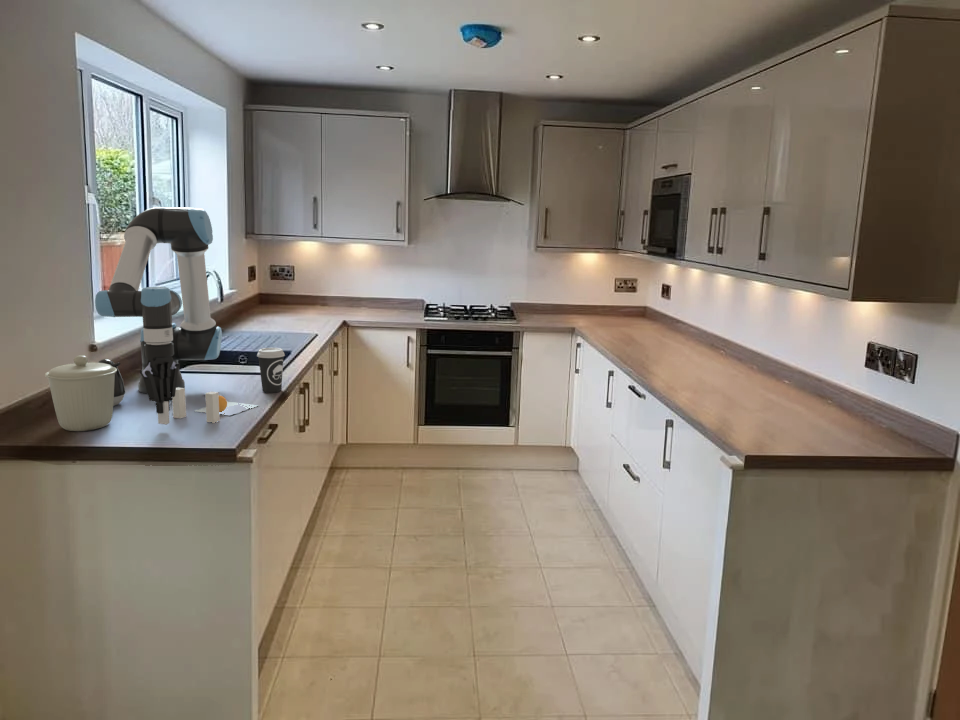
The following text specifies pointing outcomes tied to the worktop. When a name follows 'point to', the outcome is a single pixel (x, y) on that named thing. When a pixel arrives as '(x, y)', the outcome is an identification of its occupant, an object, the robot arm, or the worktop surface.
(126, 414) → the worktop surface
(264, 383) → the coffee cup
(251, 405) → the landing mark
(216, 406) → the post
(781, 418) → the worktop surface
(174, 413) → the post
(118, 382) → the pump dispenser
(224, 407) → the ball
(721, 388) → the worktop surface
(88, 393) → the canister
